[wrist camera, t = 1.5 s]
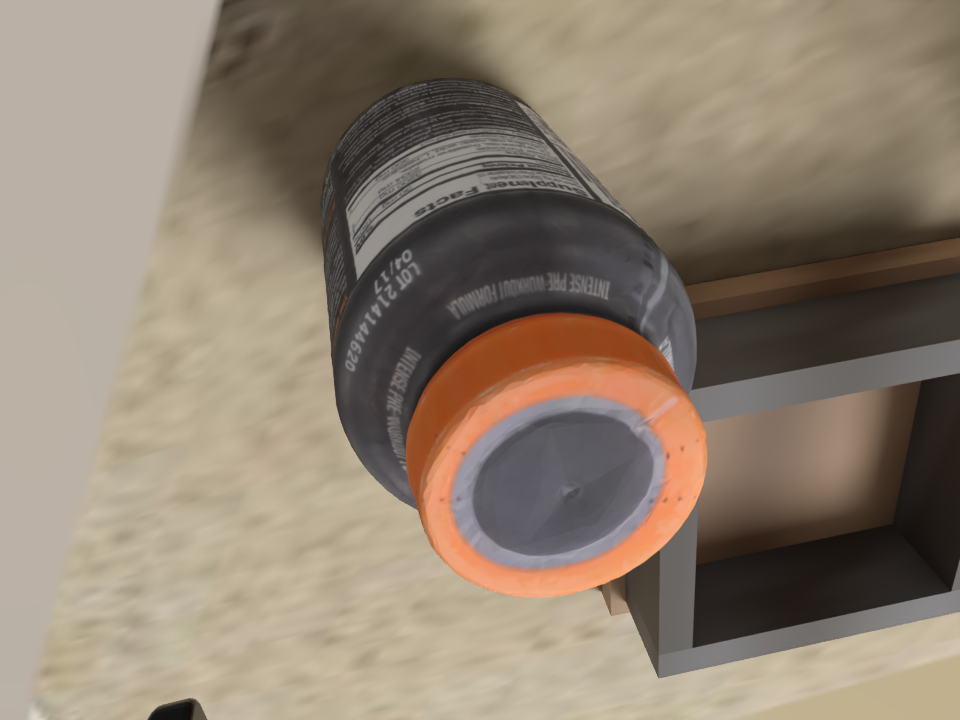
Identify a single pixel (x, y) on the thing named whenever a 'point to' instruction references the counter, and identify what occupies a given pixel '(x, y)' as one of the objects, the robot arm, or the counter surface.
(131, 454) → the counter surface
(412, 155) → the pill bottle
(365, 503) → the counter surface
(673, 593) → the holder
